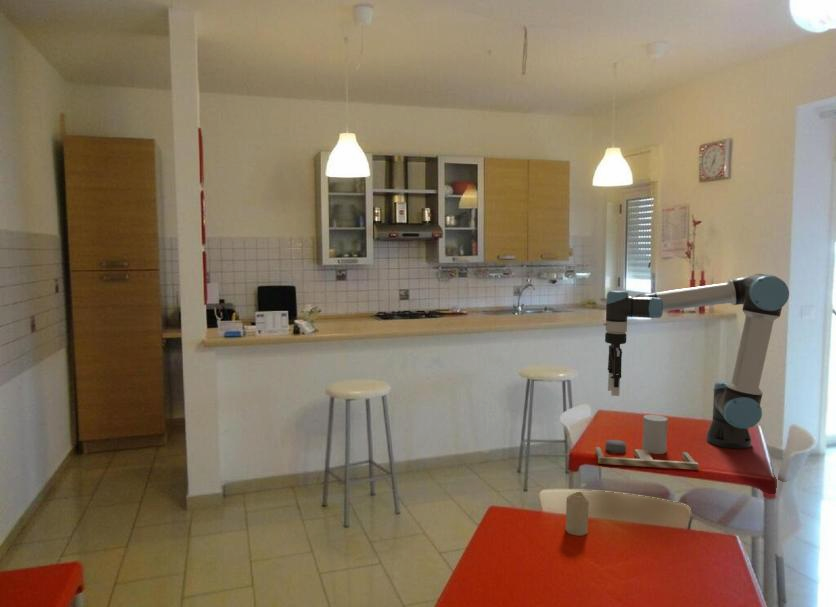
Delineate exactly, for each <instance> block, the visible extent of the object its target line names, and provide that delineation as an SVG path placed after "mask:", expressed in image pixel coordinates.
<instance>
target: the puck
mask: <svg viewBox="0 0 836 607" xmlns="http://www.w3.org/2000/svg"><path fill="white" fill-rule="evenodd" d="M605 449H606V450H607V451H609V452H608V453H610V452H613V453H612V454H615V453H623V454H625V453H627V452H626V450H627V443H626V442H625V441H622V440H618V439H608V440H606V441H605ZM606 450H605V451H606ZM607 451H606V452H607Z"/></svg>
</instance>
